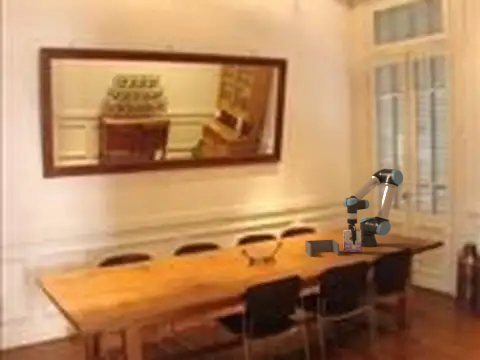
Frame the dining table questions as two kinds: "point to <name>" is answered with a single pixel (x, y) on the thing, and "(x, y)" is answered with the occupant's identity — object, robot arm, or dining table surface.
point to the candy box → (348, 243)
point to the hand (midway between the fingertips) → (352, 247)
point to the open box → (321, 246)
